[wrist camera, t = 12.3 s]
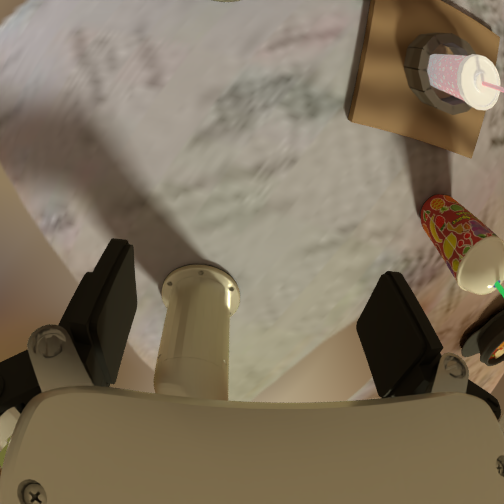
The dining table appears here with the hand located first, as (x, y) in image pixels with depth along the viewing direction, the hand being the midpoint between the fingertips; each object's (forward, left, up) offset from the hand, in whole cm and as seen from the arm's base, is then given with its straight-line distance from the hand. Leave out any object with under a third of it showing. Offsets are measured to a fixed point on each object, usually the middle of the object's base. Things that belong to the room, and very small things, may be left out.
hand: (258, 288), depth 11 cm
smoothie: (-8, -30, -28) cm, 42 cm away
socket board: (+12, -22, -28) cm, 38 cm away
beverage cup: (+12, -22, -27) cm, 37 cm away
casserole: (-36, -71, -29) cm, 85 cm away
